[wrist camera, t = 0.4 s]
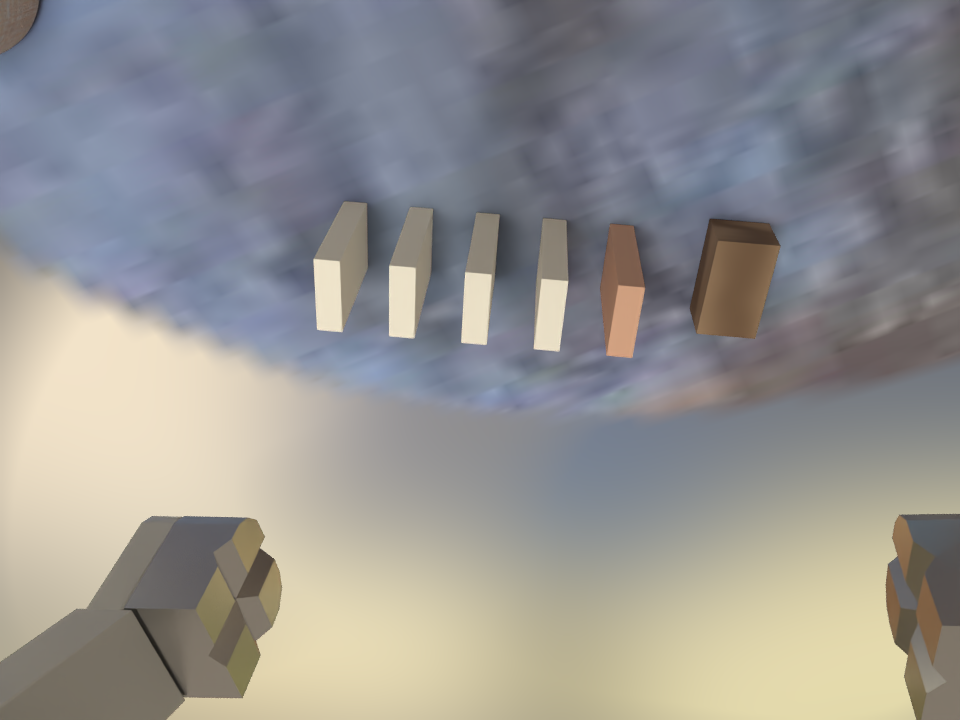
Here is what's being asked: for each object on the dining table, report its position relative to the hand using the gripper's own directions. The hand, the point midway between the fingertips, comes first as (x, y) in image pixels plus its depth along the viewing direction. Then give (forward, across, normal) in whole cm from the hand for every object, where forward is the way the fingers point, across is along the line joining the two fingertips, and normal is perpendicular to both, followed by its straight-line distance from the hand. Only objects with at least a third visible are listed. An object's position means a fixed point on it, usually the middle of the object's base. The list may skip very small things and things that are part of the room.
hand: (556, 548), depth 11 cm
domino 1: (+45, +20, +17) cm, 52 cm away
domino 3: (+46, +11, +19) cm, 51 cm away
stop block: (+47, -6, +23) cm, 52 cm away
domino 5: (+46, +2, +21) cm, 51 cm away
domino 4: (+46, +6, +20) cm, 51 cm away
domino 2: (+45, +15, +18) cm, 51 cm away
